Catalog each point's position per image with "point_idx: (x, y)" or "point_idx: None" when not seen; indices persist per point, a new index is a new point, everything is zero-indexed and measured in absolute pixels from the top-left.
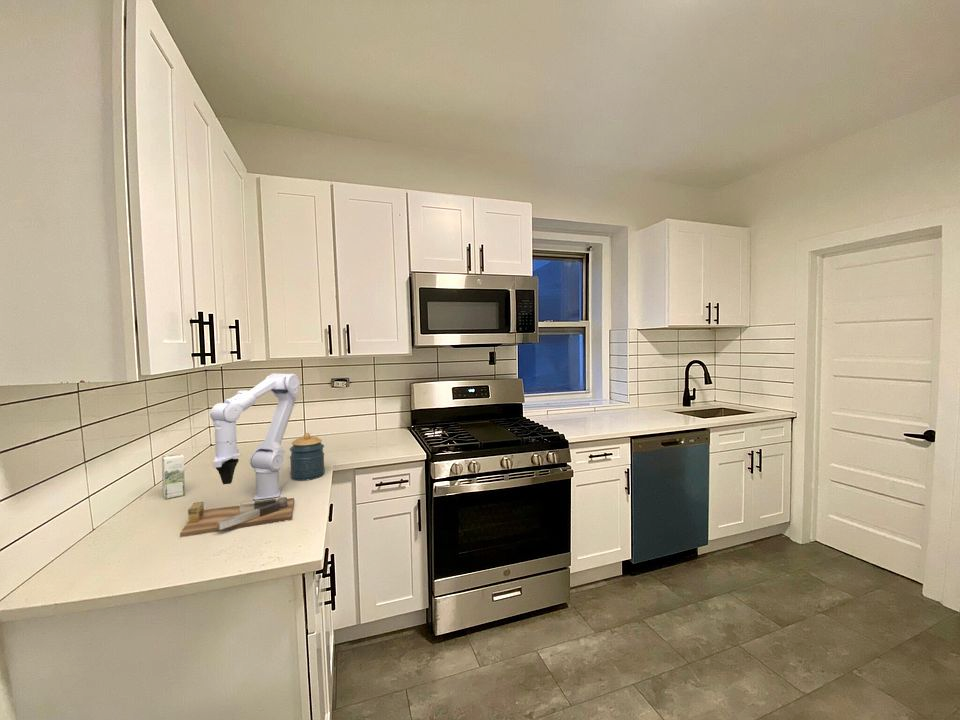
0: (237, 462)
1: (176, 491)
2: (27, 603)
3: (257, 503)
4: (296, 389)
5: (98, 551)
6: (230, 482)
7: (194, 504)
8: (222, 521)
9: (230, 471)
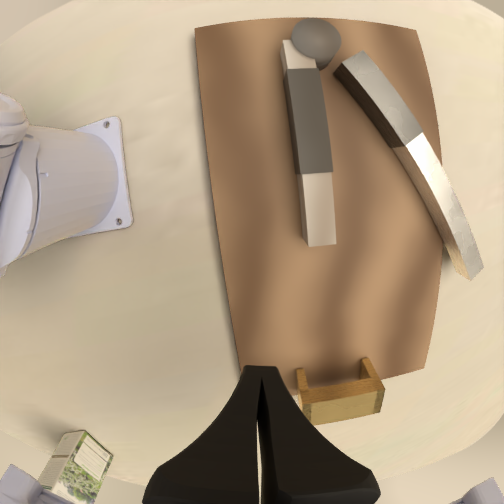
0: (181, 466)
1: (92, 452)
2: (499, 417)
3: (330, 155)
4: None
5: (394, 456)
6: (276, 369)
7: (326, 418)
8: (476, 261)
9: (319, 435)
